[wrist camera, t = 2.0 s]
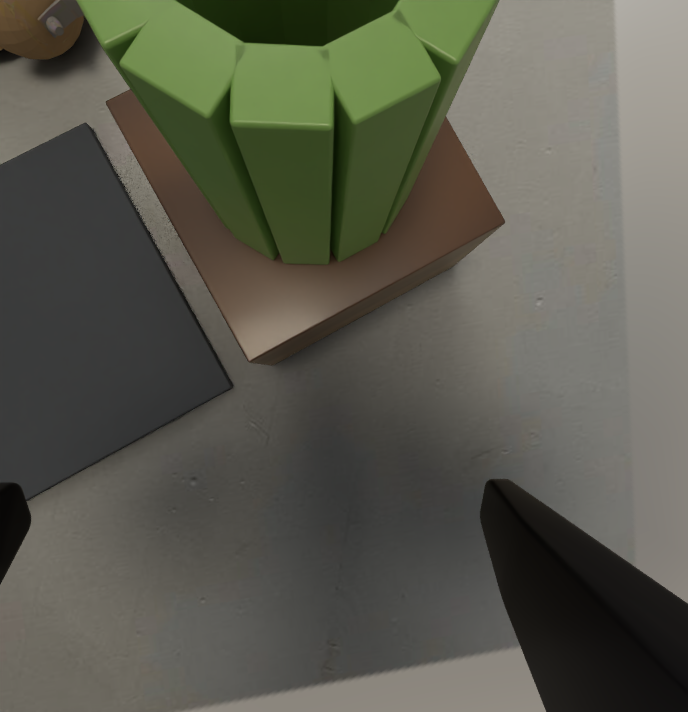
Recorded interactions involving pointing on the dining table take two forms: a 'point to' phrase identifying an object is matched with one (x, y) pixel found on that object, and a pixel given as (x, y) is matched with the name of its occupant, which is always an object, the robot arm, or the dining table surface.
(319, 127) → the green slatted pot
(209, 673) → the dining table surface
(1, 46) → the alarm clock
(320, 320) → the stand
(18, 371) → the mat
